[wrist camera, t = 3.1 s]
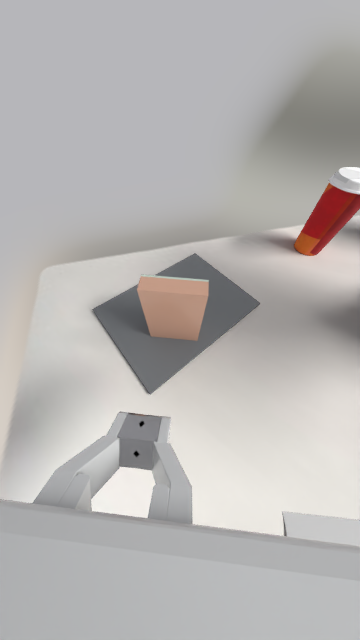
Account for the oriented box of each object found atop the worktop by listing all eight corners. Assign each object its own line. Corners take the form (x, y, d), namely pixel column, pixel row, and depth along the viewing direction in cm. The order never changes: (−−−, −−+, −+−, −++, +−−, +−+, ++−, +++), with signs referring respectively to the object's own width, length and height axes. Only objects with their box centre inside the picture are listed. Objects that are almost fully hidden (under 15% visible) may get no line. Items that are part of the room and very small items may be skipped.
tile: (197, 340, 29) (208, 295, 19) (150, 336, 29) (136, 289, 19) (197, 328, 30) (208, 280, 20) (153, 324, 31) (141, 274, 20)
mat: (194, 255, 41) (195, 253, 41) (259, 304, 34) (260, 303, 34) (93, 311, 33) (92, 309, 32) (150, 394, 25) (149, 393, 25)
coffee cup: (321, 241, 45) (378, 168, 32) (326, 261, 41) (394, 187, 28) (287, 235, 46) (330, 163, 33) (289, 255, 42) (339, 180, 29)
